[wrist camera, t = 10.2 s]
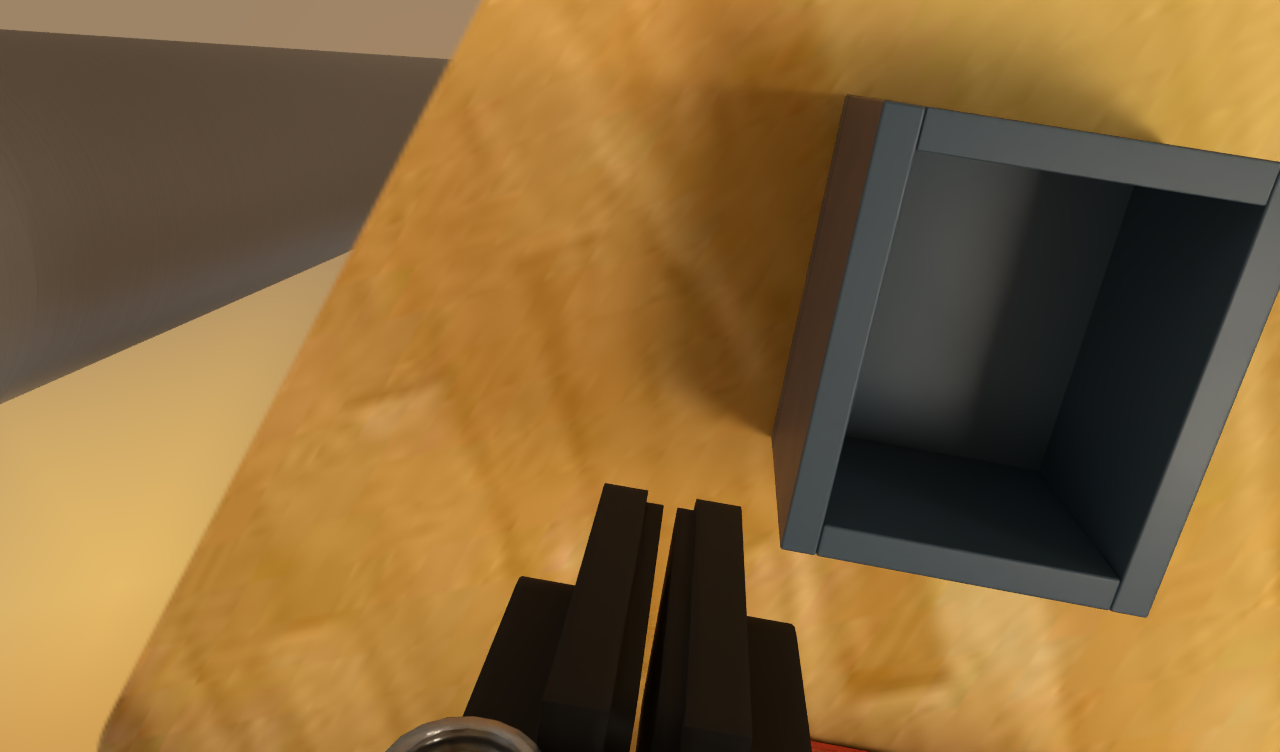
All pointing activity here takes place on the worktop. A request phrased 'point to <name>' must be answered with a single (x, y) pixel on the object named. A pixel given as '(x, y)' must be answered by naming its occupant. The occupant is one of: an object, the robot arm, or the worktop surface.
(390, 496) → the worktop surface
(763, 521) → the worktop surface
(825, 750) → the cracker box
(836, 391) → the grey open box
